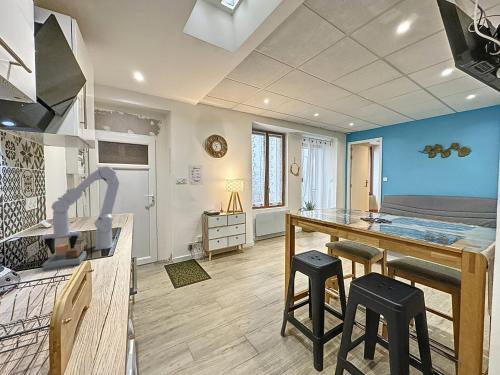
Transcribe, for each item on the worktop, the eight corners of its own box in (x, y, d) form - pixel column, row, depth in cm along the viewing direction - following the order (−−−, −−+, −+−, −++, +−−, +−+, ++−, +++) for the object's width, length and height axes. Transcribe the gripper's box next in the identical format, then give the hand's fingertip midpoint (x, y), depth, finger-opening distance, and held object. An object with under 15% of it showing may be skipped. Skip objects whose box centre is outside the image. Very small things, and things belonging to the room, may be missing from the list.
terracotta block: (59, 254, 104) (58, 244, 104) (69, 253, 106) (69, 243, 105) (56, 257, 100) (55, 247, 100) (66, 256, 102) (66, 245, 102)
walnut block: (80, 258, 97) (79, 247, 97) (77, 261, 93) (77, 250, 93) (69, 259, 95) (68, 248, 95) (66, 262, 92) (65, 251, 91)
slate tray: (54, 261, 96) (53, 255, 96) (86, 256, 101) (86, 250, 101) (43, 270, 86) (42, 264, 86) (79, 265, 91) (79, 258, 91)
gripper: (37, 228, 95) (39, 257, 96) (77, 225, 102) (78, 252, 102) (44, 225, 102) (46, 252, 102) (81, 222, 108) (83, 248, 109)
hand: (62, 252), depth 103 cm, fingers open, 7 cm apart
